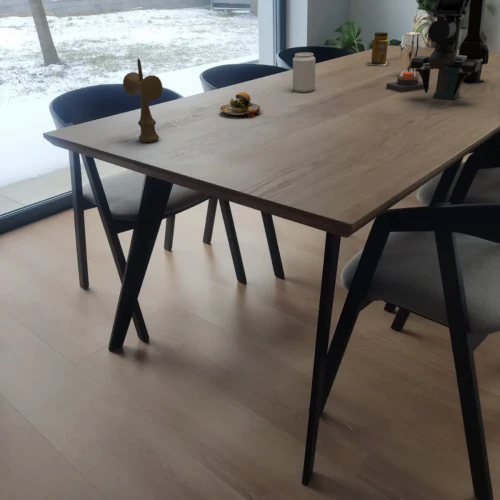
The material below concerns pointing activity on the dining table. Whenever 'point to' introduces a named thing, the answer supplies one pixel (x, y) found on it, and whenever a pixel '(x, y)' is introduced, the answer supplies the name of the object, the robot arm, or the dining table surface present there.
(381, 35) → the condiment
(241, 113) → the burger
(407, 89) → the switch block
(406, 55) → the beer glass
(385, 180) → the dining table surface
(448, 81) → the iron
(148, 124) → the kendama
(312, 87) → the can
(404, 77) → the power button
